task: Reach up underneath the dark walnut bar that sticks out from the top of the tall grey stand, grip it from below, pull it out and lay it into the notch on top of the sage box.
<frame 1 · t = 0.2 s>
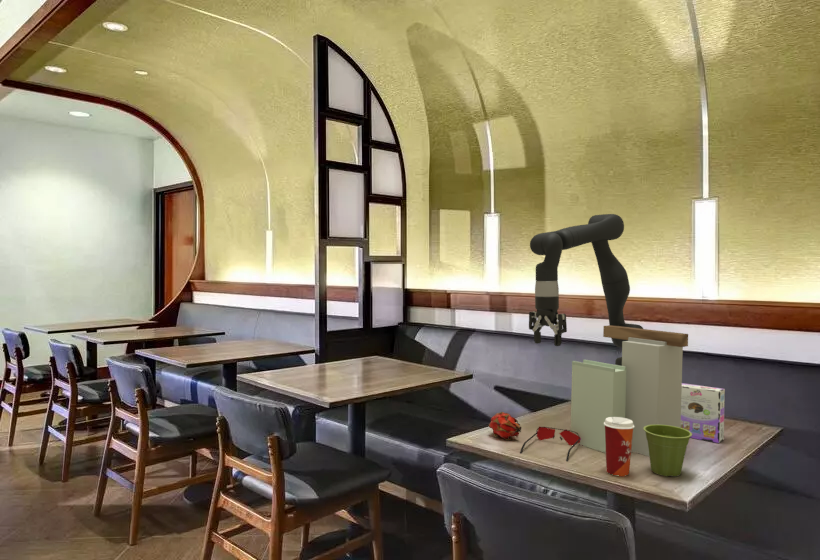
hand: (547, 344, 192), 29 cm above the table, tool pointing down, fingers open, 8 cm apart
paper cup: (617, 473, 156), on the table
dragon fruit: (505, 438, 186), on the table
walnut bar: (643, 341, 177), point 32 cm above the table, touching grey stand
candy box: (698, 437, 189), on the table
grey stand: (649, 449, 176), on the table
plant pot: (666, 473, 156), on the table
sage box: (596, 446, 178), on the table
glasses: (551, 451, 175), on the table
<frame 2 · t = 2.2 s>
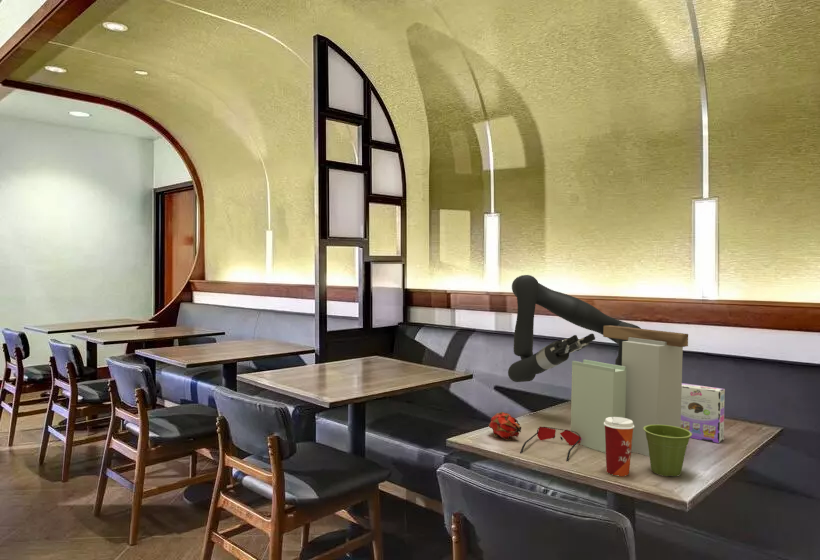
hand: (585, 336, 195), 31 cm above the table, tool pointing upward, fingers open, 8 cm apart
nothing on the table moved.
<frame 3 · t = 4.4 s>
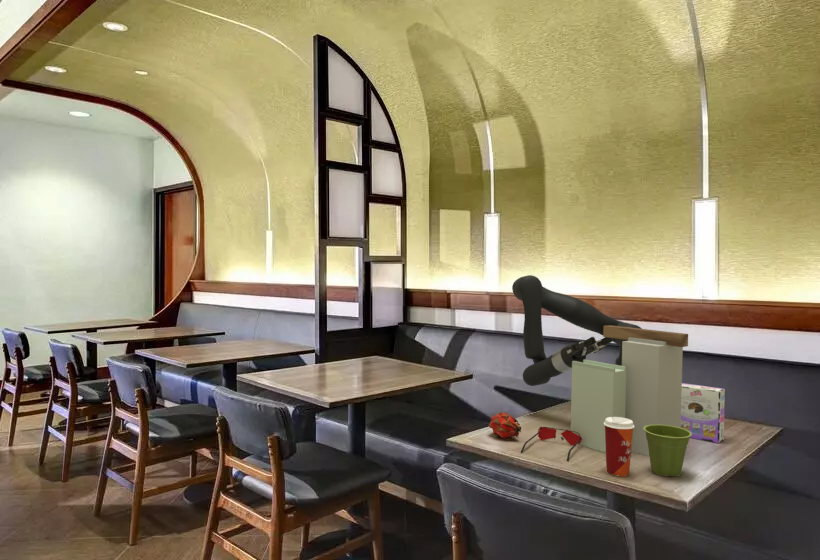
hand: (603, 338, 189), 31 cm above the table, tool pointing upward, fingers open, 8 cm apart
nothing on the table moved.
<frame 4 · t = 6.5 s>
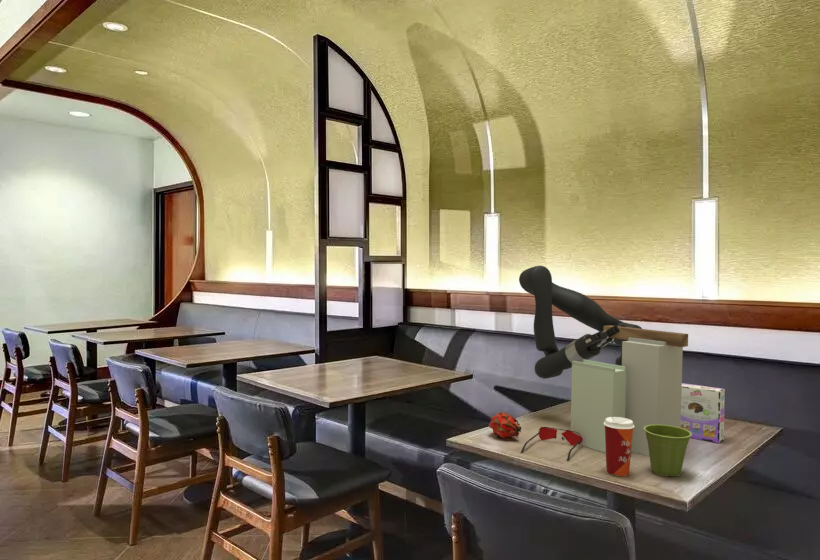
hand: (621, 328, 184), 35 cm above the table, tool pointing upward, fingers closed on walnut bar, 3 cm apart
walnut bar: (643, 341, 177), point 32 cm above the table, touching grey stand, gripper
everything else where it was.
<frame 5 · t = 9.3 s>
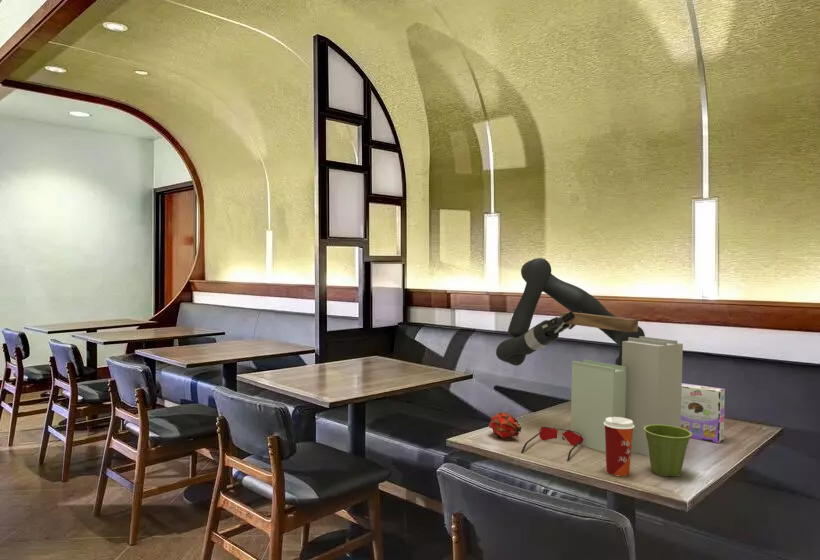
hand: (577, 314, 187), 39 cm above the table, tool pointing upward, fingers closed on walnut bar, 3 cm apart
walnut bar: (596, 326, 181), point 36 cm above the table, touching gripper
everything else where it was.
when the fingers open (28 cm above the table, at t = 12.0 s): walnut bar stays where it is, resting on sage box.
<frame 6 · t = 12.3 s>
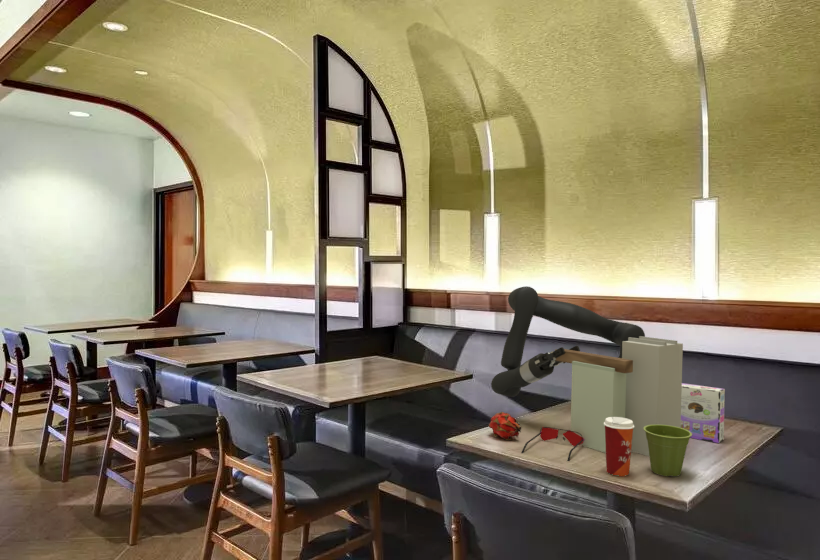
hand: (571, 349, 186), 28 cm above the table, tool pointing upward, fingers open, 6 cm apart
walnut bar: (591, 366, 180), point 24 cm above the table, touching sage box
everything else where it was.
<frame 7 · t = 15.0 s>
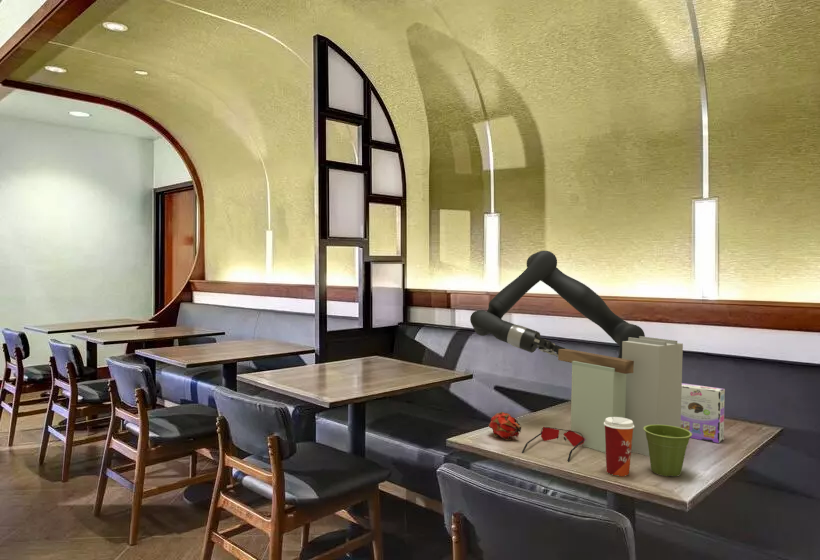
hand: (568, 354, 195), 25 cm above the table, tool horizontal, fingers open, 8 cm apart
walnut bar: (593, 366, 179), point 24 cm above the table, touching gripper
everything else where it was.
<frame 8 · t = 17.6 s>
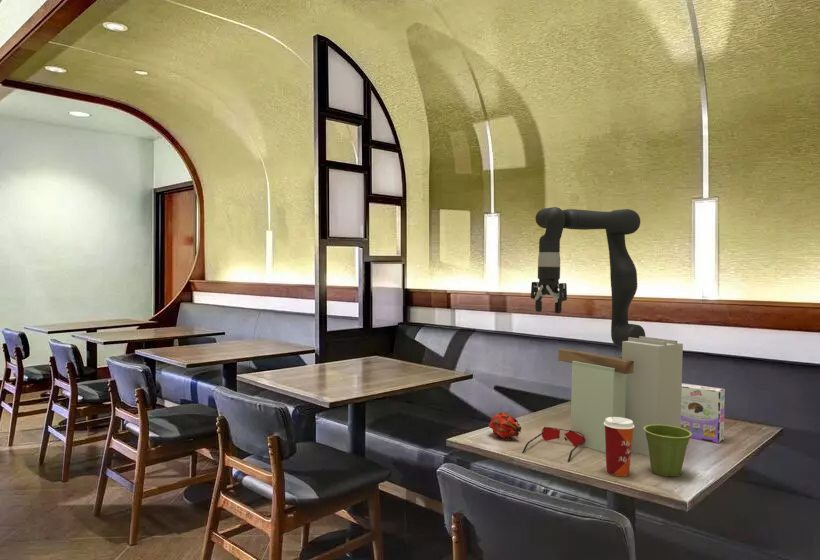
hand: (548, 312, 204), 38 cm above the table, tool pointing down, fingers open, 8 cm apart
walnut bar: (593, 366, 179), point 24 cm above the table, touching sage box
at the end: walnut bar inside the target area on the sage box (0.7 cm from its centre), point 24.0 cm above the sage box's base; walnut bar touching sage box; the gripper is holding nothing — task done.
